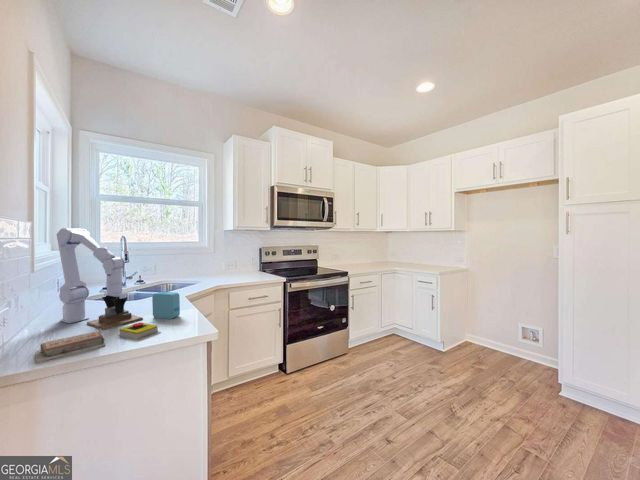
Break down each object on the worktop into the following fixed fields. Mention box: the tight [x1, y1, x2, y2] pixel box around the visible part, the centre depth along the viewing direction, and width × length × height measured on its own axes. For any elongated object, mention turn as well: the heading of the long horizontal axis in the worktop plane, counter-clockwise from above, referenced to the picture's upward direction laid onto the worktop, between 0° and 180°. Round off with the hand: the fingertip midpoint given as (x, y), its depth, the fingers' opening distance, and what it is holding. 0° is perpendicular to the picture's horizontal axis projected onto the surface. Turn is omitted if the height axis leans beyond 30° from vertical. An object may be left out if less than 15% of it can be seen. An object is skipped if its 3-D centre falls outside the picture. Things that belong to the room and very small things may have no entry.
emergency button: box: [117, 322, 162, 341], centre depth 115 cm, size 9×4×15 cm
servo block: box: [99, 306, 130, 318], centre depth 130 cm, size 4×10×7 cm, turn 151°
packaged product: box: [34, 331, 106, 364], centre depth 99 cm, size 18×5×10 cm
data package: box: [151, 291, 181, 320], centre depth 137 cm, size 12×4×12 cm, turn 77°
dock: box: [86, 311, 144, 331], centre depth 130 cm, size 16×16×3 cm
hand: (115, 311), depth 130 cm, fingers open, 7 cm apart
